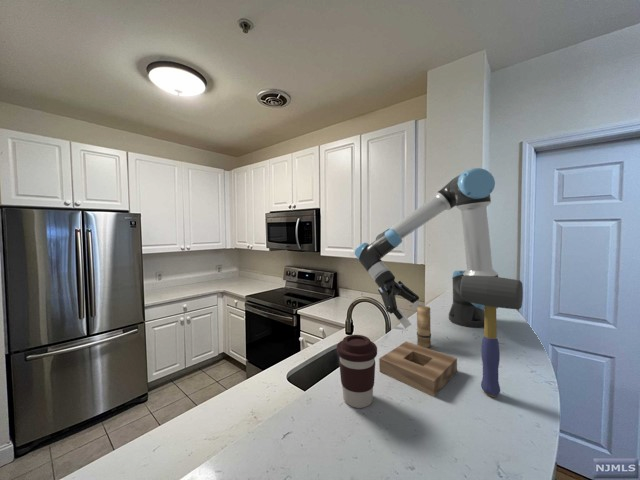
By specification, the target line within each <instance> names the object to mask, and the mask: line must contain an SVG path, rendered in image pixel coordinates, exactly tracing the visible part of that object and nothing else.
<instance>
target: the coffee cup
mask: <svg viewBox="0 0 640 480" xmlns="http://www.w3.org/2000/svg"><path fill="white" fill-rule="evenodd" d="M336 354H337V355H338V356H339V361H338V363H339V364H338V365H339V374H340V383H341V386H342V387H341V388H342V397H343V400H344V402H345V403H346V405H349V406H350V407H353V408H359V409H361V408H366V407H368V406H370V405H371V404H372V402H373V400H374V399H373V395H374V385H375V377H376V376H375V375H376V374H375V373H376V360H375V358H377V355H378V347H377V345H376V344H375V342H373V341H371V340H370V338H369V337H367V336H365V335H363V334H349V335H346V336H344V338H343V339H342V340H340V341H339V342H338V343H337V344H336Z"/></svg>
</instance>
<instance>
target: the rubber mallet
mask: <svg viewBox="0 0 640 480" xmlns="http://www.w3.org/2000/svg"><path fill="white" fill-rule="evenodd" d="M523 294H524V289H523V282H522V281H521V280H519V279H514V278H513V279H512V278H508V277H506V278H505V277H500V276H498V277H493V276H476V275H464V276H463V277H462V279H461V283H460V296H461V298H462V300H464V301H467V302H471V303H475V304H480V305H485V310H484V311H485V315H484V328H483V329H484V331H483V332H484V333H483V336H482V340H481V351H480V352H481V353H480V354H481V355H480V356H481V361H482V363H481V364H482V378H481V379H482V380H481V383H480V387H481V389H482V391H483V393H484V394H485V395H486V396H489V397H492V398H496V397H498V396H499V394H500V392H501V387H500V382H499V366H500V359H501V358H500V357H501V356H500V355H501V354H500V352H501V351H500V344H499V341H498V335H497V334H498V333H497V332H498V331H497V329H498V326H497V323H498V321H497V309H498V308H501V309H509V310H510V309H511V310H520V309H522V307H523V300H524V299H523V297H524V295H523ZM496 307H498V308H497V309H496Z"/></svg>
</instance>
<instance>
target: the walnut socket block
mask: <svg viewBox="0 0 640 480" xmlns="http://www.w3.org/2000/svg"><path fill="white" fill-rule="evenodd" d="M378 369H379V372H380V373H382V374H384V375H386V376H388V377H390V378H393V379H395V380H396V381H398V382H401V383H404V384H405V385H407V386H410V387H412V388H413V389H416V390H418V391H420V392H423V393H425V394H426V395H429V396H431V397H433V398H435V397H436V396H437V395H438V393H439V392H440V391H441V390H443V389H442V388H444V387H445V386H446V384H447V383H448V382H449V381H450V380H451V379H452V377H453V376H454V375H456V373H457V372H458V357H454V356H452V355H448V354H446V353H443V352H440V351H436V350H434V349H431V348H430V349H428V348H425V347H422V346H419V345H417V344H415V343H412V342H409V341H405V342H403V343H401V344H400V345H399V346H397V347H395V348H393V349H392V350H390V351H389V352H387V353H385V354H384V355H383V356H381V357H379V368H378Z"/></svg>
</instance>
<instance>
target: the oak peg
mask: <svg viewBox="0 0 640 480" xmlns="http://www.w3.org/2000/svg"><path fill="white" fill-rule="evenodd" d="M416 327H417V329H416V331H417V332H416V338H417V342H416V343H417V344H416V345H419V346H422V347H425V348H428V349H431V348H432V345H431V343H432V342H431V338H432V334H431V332H432V331H431V307H430V306H428V305H422V306H417V310H416Z"/></svg>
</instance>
